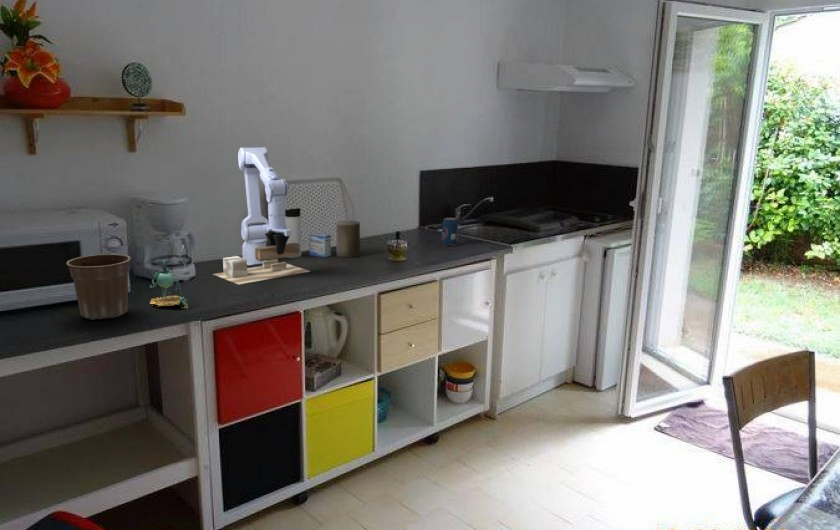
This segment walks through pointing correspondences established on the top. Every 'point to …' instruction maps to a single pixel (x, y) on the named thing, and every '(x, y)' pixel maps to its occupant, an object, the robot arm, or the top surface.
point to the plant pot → (101, 284)
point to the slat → (271, 252)
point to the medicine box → (319, 245)
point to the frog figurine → (165, 281)
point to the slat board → (255, 270)
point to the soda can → (449, 231)
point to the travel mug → (294, 227)
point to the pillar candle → (348, 239)
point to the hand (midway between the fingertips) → (277, 253)
